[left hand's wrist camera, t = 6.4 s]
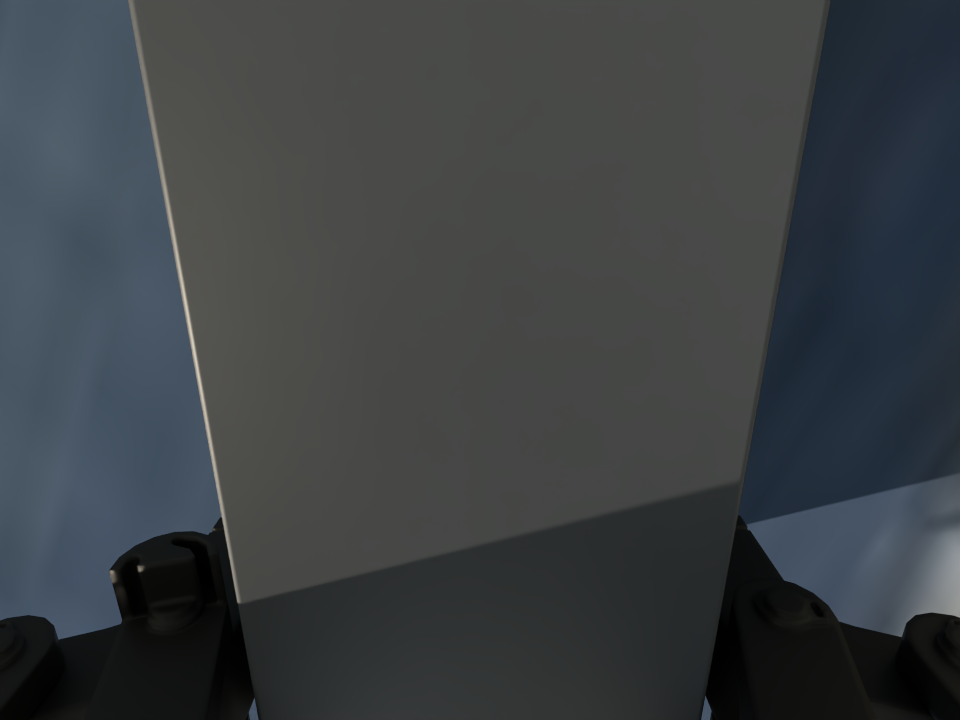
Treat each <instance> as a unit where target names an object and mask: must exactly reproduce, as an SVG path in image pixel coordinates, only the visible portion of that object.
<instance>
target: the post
mask: <svg viewBox="0 0 960 720" xmlns="http://www.w3.org/2000/svg"><path fill="white" fill-rule="evenodd" d="M830 2H831V0H128V3H129V8H130V14H131V19H132V25H133V30H134V36H135V41H136V47H137V52H138V58H139V63H140V69H141V74H142V80H143V85H144V91H145V96H146V102H147V107H148V113H149V118H150V124H151V129H152V135H153V140H154V146H155V151H156V157H157V162H158V168H159V173H160V179H161V184H162V190H163V195H164V201H165V206H166V212H167V217H168V223H169V228H170V234H171V239H172V245H173V250H174V256H175V261H176V267H177V272H178V278H179V283H180V289H181V294H182V300H183V305H184V311H185V316H186V322H187V327H188V333H189V338H190V344H191V349H192V355H193V360H194V366H195V371H196V377H197V382H198V388H199V394H200V399H201V405H202V410H203V416H204V421H205V427H206V432H207V438H208V443H209V449H210V454H211V460H212V465H213V471H214V476H215V482H216V487H217V493H218V498H219V504H220V509H221V515H222V520H223V526H224V531H225V537H226V542H227V548H228V553H229V559H230V564H231V570H232V575H233V581H234V586H235V592H236V597H237V603H238V608H239V614H240V619H241V625H242V630H243V636H244V641H245V647H246V652H247V658H248V663H249V669H250V674H251V680H252V685H253V691H254V696H255V702H256V707H257V713H258V718H259V720H701V717H702V711H703V706H704V700H705V695H706V689H707V683H708V678H709V672H710V667H711V661H712V656H713V650H714V645H715V639H716V634H717V628H718V623H719V617H720V611H721V606H722V600H723V595H724V589H725V584H726V578H727V573H728V567H729V562H730V556H731V550H732V545H733V539H734V534H735V528H736V523H737V517H738V512H739V506H740V501H741V495H742V489H743V484H744V478H745V473H746V467H747V462H748V456H749V451H750V445H751V440H752V434H753V428H754V423H755V417H756V412H757V406H758V401H759V395H760V390H761V384H762V379H763V373H764V367H765V362H766V356H767V351H768V345H769V340H770V334H771V329H772V323H773V318H774V312H775V307H776V301H777V295H778V290H779V284H780V279H781V273H782V268H783V262H784V257H785V251H786V246H787V240H788V234H789V229H790V223H791V218H792V212H793V207H794V201H795V196H796V190H797V185H798V179H799V173H800V168H801V162H802V157H803V151H804V146H805V140H806V135H807V129H808V124H809V118H810V112H811V107H812V101H813V96H814V90H815V85H816V79H817V74H818V68H819V63H820V57H821V51H822V46H823V40H824V35H825V29H826V24H827V18H828V13H829V7H830Z"/></svg>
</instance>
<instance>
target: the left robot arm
mask: <svg viewBox="0 0 960 720" xmlns="http://www.w3.org/2000/svg"><path fill="white" fill-rule="evenodd" d="M109 573H110V576H111V580H112V584H113V587H114V591H115V595H116V598H117V602H118V606H119V609H120V613H121V617H122V623H121V624H120V625H116V626H113V627H110V628H107V629H103V630H98V631H94V632H90V633H86V634H81V635H77V636H73V637H68V638H64V639H60V640H58V637H57V634H56V631H55V628H54V625H52V624H51V623H50V622H49V621H48V620H47V619H46V618H43V617H37V616H30V615H27V616H19V617H12V618H6V619H3V620H1V621H0V720H250V717H249V710H250V707H251V705H252V702H253V700H254V697H255V696H254V691H253V685H252V680H251V674H250V669H249V663H248V658H247V652H246V647H245V641H244V636H243V630H242V625H241V619H240V614H239V608H238V603H237V597H236V592H235V586H234V581H233V575H232V570H231V564H230V559H229V553H228V548H227V542H226V537H225V531H224V526H223V520H222V518H220V519H219V520H218V522H217V523H216V525H215V526H214V528H213V532H212V533H209V535H206V534H202V533H198V532H194V531H190V532H173V533H169V534H165V535H161V536H157V537H154V538H151V539H149V540H147V541H145V542H143V543H140V544H138V545H136V546H134V547H133V548H131V549H130V550H129V551H127V552H126V553H125V554H123V555H122V556H120V557H119V558H118V560H117V561H116V562H115V563H114V565H113V566H112V567H111V569H110V570H109ZM706 698H707V700H708V703H709V705H710V708H711V710H712V712H711V717H710V720H960V618H959V617H956V616H953V615H945V614H938V613H926V614H920V615H915V616H914V617H913V618H912V619H911V620H909V621H908V622H907V623H906V626H905V629H904V632H903V635H902V637H898V636H894V635H890V634H885V633H881V632H877V631H872V630H868V629H864V628H859V627H855V626H852V625H849V624H845V623H842V622H839V621H838V619H837V618H836V616H835V615H834V613H833V612H832V610H831V609H830V607H829V606H828V605H827V604H826V603H825V602H823V601H822V600H821V599H820V598H819V597H817V596H816V595H815V594H814V593H812V592H810V591H808V590H806V589H804V588H802V587H800V586H799V585H797V584H795V583H791V582H787V581H784V580H783V578H782V577H781V575H780V574H779V573H778V571H777V570H776V568H775V567H774V565H773V564H772V562H771V561H770V559H769V558H768V556H767V555H766V553H765V552H764V550H763V549H762V548H761V546H760V545H759V543H758V542H757V540H756V539H755V537H754V536H753V534H752V533H751V531H750V530H748V529H747V525H746V524H745V522H744V521H743V520H742V518H741V517H740V516H738V517H737V523H736V528H735V534H734V539H733V545H732V550H731V556H730V562H729V567H728V573H727V578H726V584H725V589H724V595H723V600H722V606H721V611H720V617H719V623H718V628H717V634H716V639H715V645H714V650H713V656H712V661H711V667H710V672H709V678H708V683H707V689H706Z"/></svg>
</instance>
